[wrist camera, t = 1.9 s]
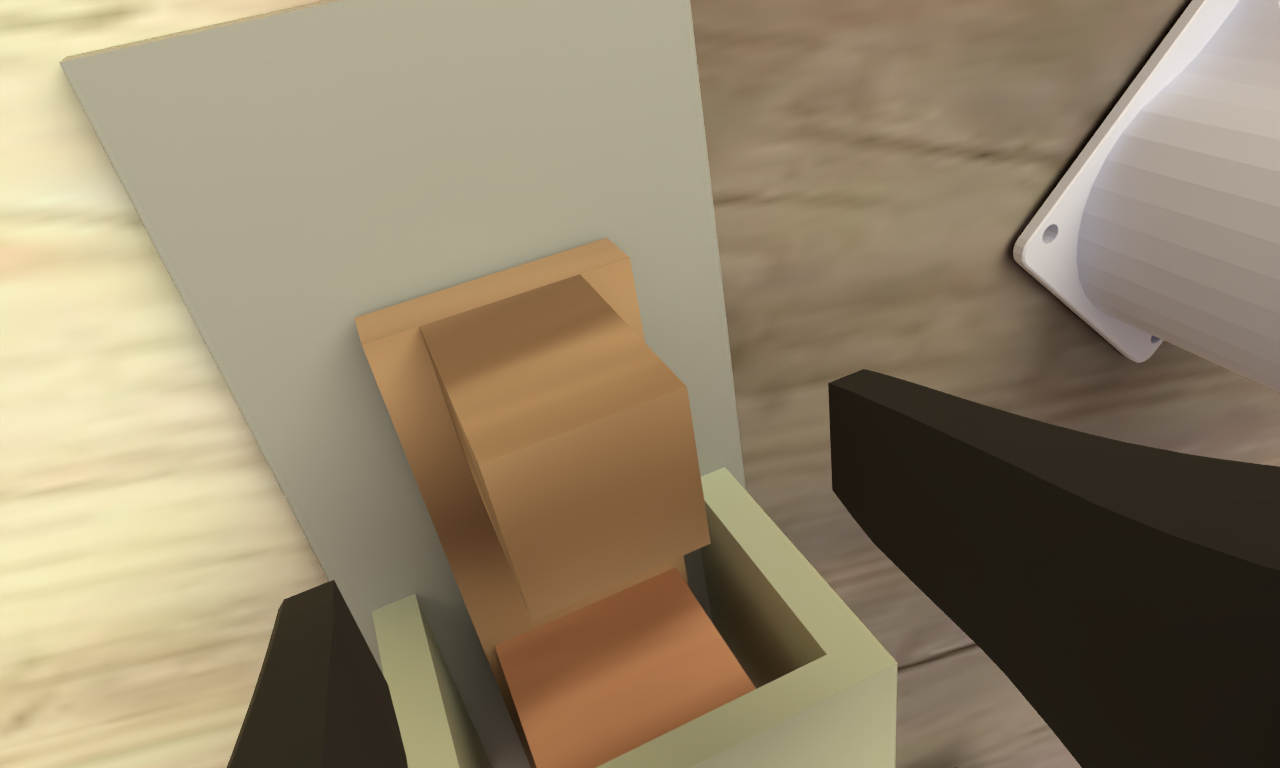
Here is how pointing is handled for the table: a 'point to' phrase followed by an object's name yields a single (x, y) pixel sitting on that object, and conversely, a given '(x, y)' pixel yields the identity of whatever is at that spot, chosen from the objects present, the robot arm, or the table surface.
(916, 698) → the table surface
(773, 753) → the tunnel
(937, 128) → the table surface
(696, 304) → the track board
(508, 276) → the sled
